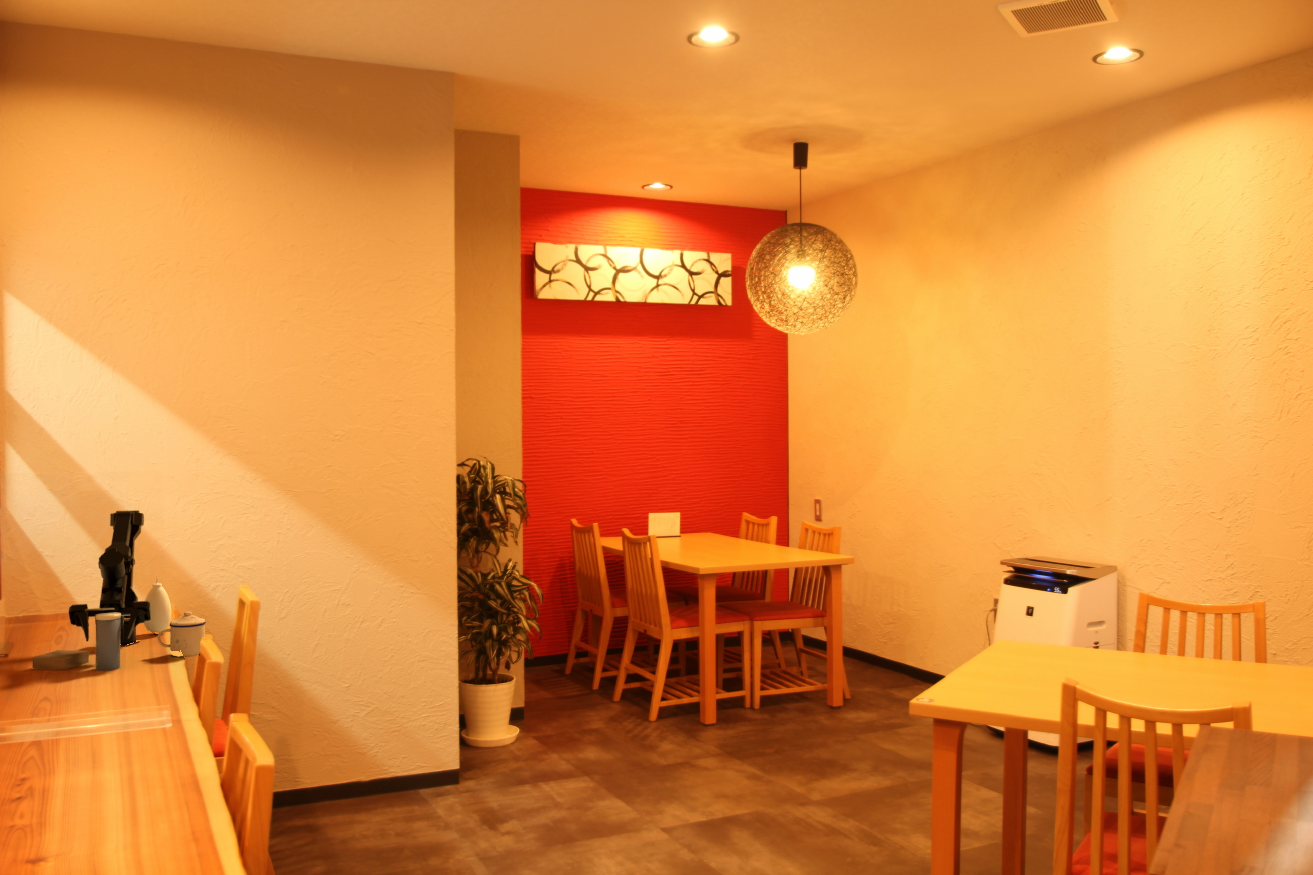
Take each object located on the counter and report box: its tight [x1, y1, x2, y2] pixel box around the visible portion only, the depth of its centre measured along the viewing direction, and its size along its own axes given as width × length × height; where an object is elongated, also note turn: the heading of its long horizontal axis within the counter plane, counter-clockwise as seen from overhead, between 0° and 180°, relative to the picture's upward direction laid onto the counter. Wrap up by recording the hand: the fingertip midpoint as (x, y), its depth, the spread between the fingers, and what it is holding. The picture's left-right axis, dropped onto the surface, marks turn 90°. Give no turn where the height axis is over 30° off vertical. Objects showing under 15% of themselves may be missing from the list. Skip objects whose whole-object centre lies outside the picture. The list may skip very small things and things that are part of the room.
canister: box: [94, 612, 121, 672], centre depth 256 cm, size 6×6×14 cm
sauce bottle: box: [143, 574, 172, 634], centre depth 301 cm, size 8×8×18 cm
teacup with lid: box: [157, 611, 207, 658], centre depth 273 cm, size 12×9×12 cm
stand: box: [31, 649, 90, 671], centre depth 259 cm, size 9×9×3 cm
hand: (107, 639), depth 255 cm, fingers open, 9 cm apart
